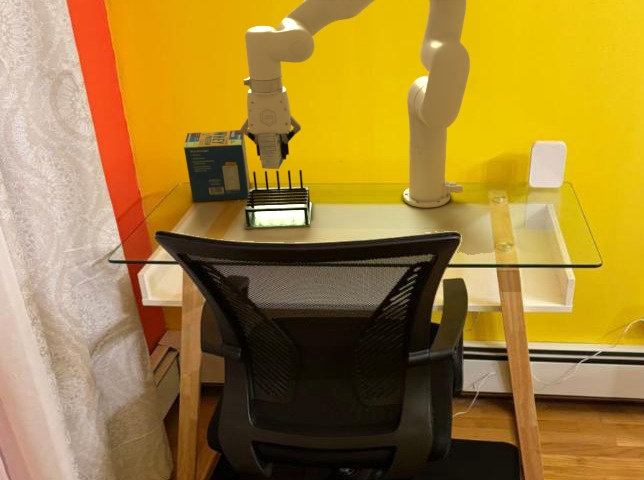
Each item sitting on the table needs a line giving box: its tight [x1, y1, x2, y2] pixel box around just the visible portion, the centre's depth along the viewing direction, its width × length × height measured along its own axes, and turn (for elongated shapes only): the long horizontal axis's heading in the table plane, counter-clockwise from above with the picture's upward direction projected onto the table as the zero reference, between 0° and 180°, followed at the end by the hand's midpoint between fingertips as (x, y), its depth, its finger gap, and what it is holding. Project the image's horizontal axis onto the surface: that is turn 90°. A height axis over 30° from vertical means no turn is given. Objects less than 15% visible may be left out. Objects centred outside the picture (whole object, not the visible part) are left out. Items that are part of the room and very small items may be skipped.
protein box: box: [183, 129, 251, 203], centre depth 213 cm, size 10×15×16 cm
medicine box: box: [258, 133, 284, 170], centre depth 193 cm, size 8×4×9 cm, turn 171°
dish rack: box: [244, 169, 312, 230], centre depth 202 cm, size 16×13×10 cm
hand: (273, 157), depth 195 cm, fingers closed on medicine box, 5 cm apart
